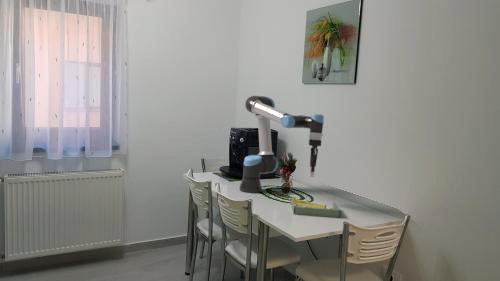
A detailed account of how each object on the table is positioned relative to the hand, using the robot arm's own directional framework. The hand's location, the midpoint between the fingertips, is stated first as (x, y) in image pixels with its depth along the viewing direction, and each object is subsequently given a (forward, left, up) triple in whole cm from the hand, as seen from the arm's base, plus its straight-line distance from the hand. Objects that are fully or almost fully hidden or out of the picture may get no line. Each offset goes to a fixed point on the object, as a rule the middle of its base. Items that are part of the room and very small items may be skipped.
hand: (311, 176), depth 233 cm
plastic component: (+17, -3, -17) cm, 24 cm away
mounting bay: (+19, +1, -16) cm, 25 cm away
